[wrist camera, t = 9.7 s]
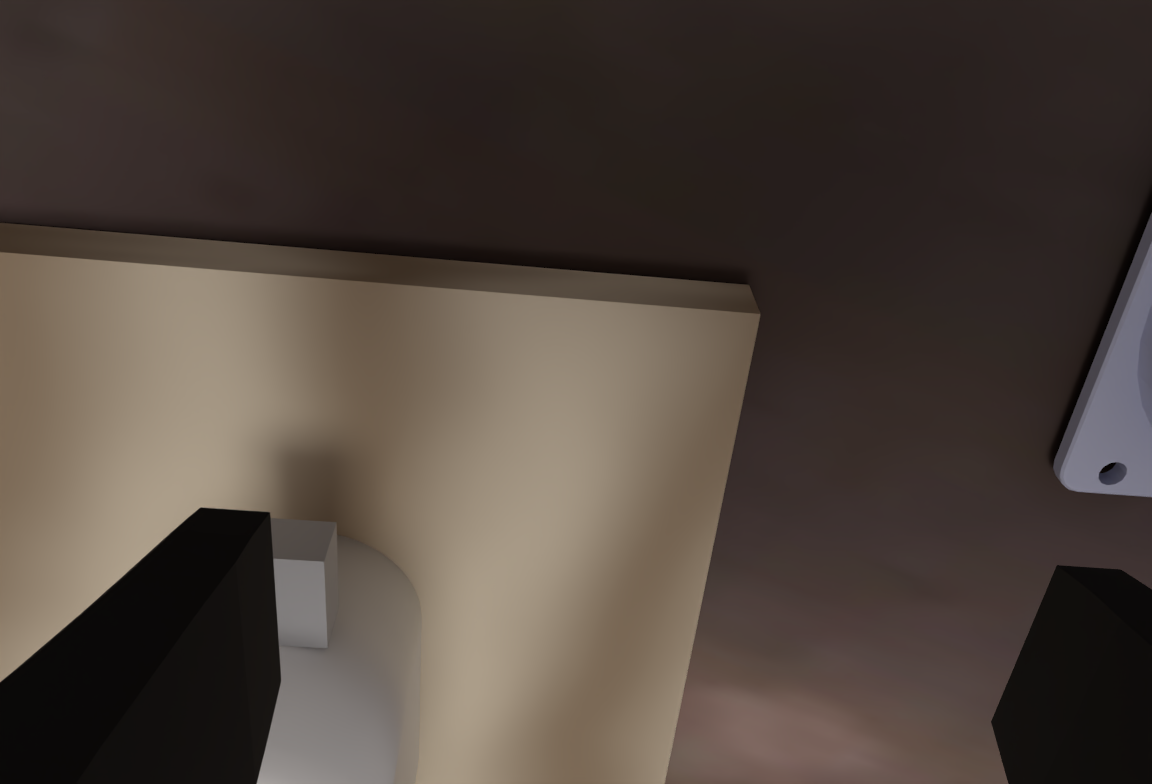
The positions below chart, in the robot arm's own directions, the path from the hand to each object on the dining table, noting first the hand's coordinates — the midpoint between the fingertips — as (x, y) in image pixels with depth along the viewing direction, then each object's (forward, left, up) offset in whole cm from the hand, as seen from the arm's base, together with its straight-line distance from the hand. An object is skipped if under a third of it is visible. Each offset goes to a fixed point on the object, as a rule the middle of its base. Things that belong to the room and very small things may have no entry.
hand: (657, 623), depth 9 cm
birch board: (+5, +10, -9) cm, 15 cm away
